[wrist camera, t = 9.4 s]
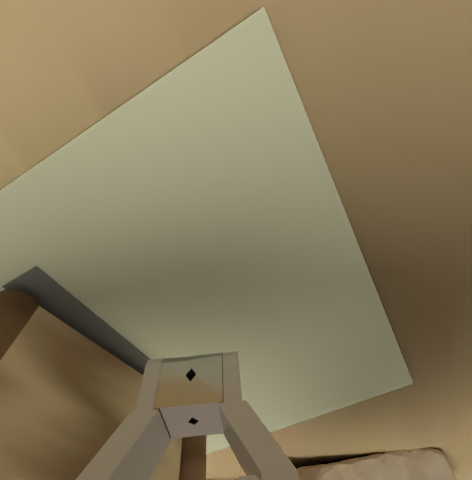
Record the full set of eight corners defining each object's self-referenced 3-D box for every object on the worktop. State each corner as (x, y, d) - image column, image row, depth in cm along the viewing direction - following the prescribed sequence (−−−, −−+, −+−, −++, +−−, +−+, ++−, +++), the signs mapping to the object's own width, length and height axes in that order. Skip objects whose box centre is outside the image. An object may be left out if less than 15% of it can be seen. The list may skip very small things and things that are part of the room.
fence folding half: (-15, 301, 11) (-195, 490, 6) (11, 282, 11) (-157, 468, 6) (165, 412, 16) (144, 566, 11) (188, 401, 16) (176, 556, 11)
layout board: (261, 9, 8) (264, 6, 7) (408, 375, 18) (414, 385, 17) (-241, 358, 13) (-259, 369, 13) (84, 488, 23) (81, 498, 22)
